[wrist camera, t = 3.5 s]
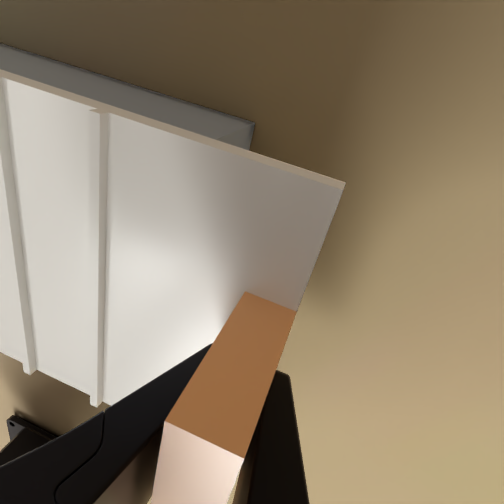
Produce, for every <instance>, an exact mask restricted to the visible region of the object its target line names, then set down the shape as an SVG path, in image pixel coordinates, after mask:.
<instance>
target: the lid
mask: <svg viewBox="0 0 504 504" xmlns="http://www.w3.org/2000/svg"><path fill="white" fill-rule="evenodd" d="M345 184H346V182H343V181H340V180H337V179H334V178H331V177H328V176H325V175H322V174H319V173H316V172H313V171H310V170H307V169H304V168H301V167H298V166H295V165H292V164H288V163H285V162H282V161H279V160H276V159H273V158H270V157H267V156H264V155H261V154H258V153H255V152H252V151H249V150H246V149H243V148H240V147H236V146H233V145H230V144H227V143H224V142H221V141H218V140H215V139H212V138H209V137H206V136H203V135H200V134H197V133H194V132H191V131H188V130H185V129H181V128H178V127H175V126H172V125H169V124H166V123H163V122H160V121H157V120H154V119H151V118H148V117H145V116H142V115H139V114H136V113H133V112H130V111H126V110H123V109H120V108H117V107H114V106H111V105H108V104H105V103H102V102H99V101H96V100H93V99H90V98H87V97H84V96H81V95H78V94H74V93H71V92H68V91H65V90H62V89H59V88H56V87H53V86H50V85H47V84H44V83H41V82H38V81H35V80H32V79H29V78H26V77H23V76H19V75H16V74H13V73H10V72H7V71H4V70H1V69H0V352H1V353H3V354H5V355H7V356H9V357H12V358H14V359H16V360H18V361H20V362H22V363H23V370H24V372H25V373H27V374H29V375H31V374H32V373H33V372H34V371H36V370H38V371H41V372H43V373H45V374H47V375H49V376H51V377H53V378H55V379H57V380H59V381H61V382H63V383H65V384H67V385H70V386H72V387H74V388H76V389H78V390H80V391H82V392H84V393H86V394H88V395H90V405H92V406H95V407H98V406H99V405H100V404H101V402H102V401H103V402H105V403H107V404H109V405H111V406H112V405H113V404H115V403H116V402H118V401H120V400H121V399H123V398H124V397H126V396H128V395H129V394H131V393H132V392H134V391H136V390H137V389H139V388H140V387H142V386H144V385H145V384H147V383H148V382H150V381H152V380H153V379H155V378H156V377H158V376H160V375H161V374H163V373H164V372H166V371H168V370H169V369H171V368H172V367H174V366H176V365H177V364H179V363H180V362H182V361H184V360H185V359H187V358H188V357H190V356H192V355H193V354H195V353H196V352H198V351H200V350H201V349H203V348H204V347H206V346H208V345H209V344H211V343H213V344H212V345H211V347H210V349H209V350H208V352H207V353H206V355H205V357H204V358H203V360H202V362H201V363H200V365H199V366H198V368H197V370H196V371H195V373H194V374H193V376H192V378H191V379H190V381H189V382H188V384H187V386H186V387H185V389H184V391H183V392H182V394H181V395H180V397H179V399H178V400H177V402H176V403H175V405H174V407H173V408H172V410H171V411H170V413H169V415H168V416H167V418H166V420H165V422H164V428H163V434H162V439H161V445H160V451H159V457H158V463H157V469H156V475H155V480H154V486H153V492H152V498H151V504H227V501H228V499H229V496H230V494H231V491H232V489H233V486H234V484H235V481H236V479H237V476H238V473H239V471H240V468H241V466H242V463H243V461H244V458H245V455H246V453H247V450H248V447H249V444H250V441H251V439H252V436H253V433H254V430H255V427H256V425H257V422H258V419H259V416H260V413H261V411H262V408H263V405H264V402H265V399H266V397H267V394H268V391H269V388H270V385H271V383H272V380H273V377H274V374H275V371H276V368H277V366H278V363H279V360H280V357H281V354H282V352H283V349H284V346H285V343H286V340H287V338H288V335H289V332H290V329H291V326H292V324H293V321H294V318H295V315H296V312H297V310H298V307H299V305H300V302H301V299H302V297H303V294H304V292H305V289H306V286H307V284H308V281H309V279H310V276H311V273H312V271H313V268H314V266H315V263H316V260H317V258H318V255H319V253H320V250H321V247H322V245H323V242H324V240H325V237H326V234H327V232H328V229H329V227H330V224H331V221H332V219H333V216H334V214H335V211H336V208H337V206H338V203H339V200H340V198H341V195H342V193H343V190H344V187H345Z"/></svg>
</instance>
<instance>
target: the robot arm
mask: <svg viewBox="0 0 504 504" xmlns="http://www.w3.org/2000/svg"><path fill="white" fill-rule="evenodd" d="M212 344H213V343H211V344H209V345H208V346H206V347H204V348H203V349H201V350H200V351H198V352H196V353H195V354H193V355H192V356H190V357H188V358H187V359H185V360H184V361H182V362H180V363H179V364H177V365H176V366H174V367H172V368H171V369H169V370H168V371H166V372H164V373H163V374H161V375H160V376H158V377H156V378H155V379H153V380H152V381H150V382H148V383H147V384H145V385H144V386H142V387H140V388H139V389H137V390H136V391H134V392H132V393H131V394H129V395H128V396H126V397H124V398H123V399H121V400H120V401H118V402H116V403H115V404H113V405H112V406H110V407H108V408H107V409H105V413H104V412H103V411H102V412H100V413H99V414H97V415H95V416H94V417H92V418H91V419H89V420H87V421H86V422H84V423H82V424H81V425H79V426H77V427H76V428H74V429H72V430H70V431H69V432H67V433H65V434H63V435H61V436H60V437H56V436H54V435H52V434H50V433H48V432H46V431H44V430H42V429H40V428H38V427H36V426H34V425H32V424H30V423H28V422H26V421H25V420H23V419H21V418H19V417H17V416H14V415H12V416H11V417H10V418H9V419H7V426H8V431H9V436H10V442H9V443H8V444H7V445H6V446H5V447H4V448H3V449H2V450H1V451H0V504H147V502H148V501H149V499H150V498H151V496H152V492H153V486H154V480H155V475H156V469H157V463H158V457H159V451H160V445H161V439H162V434H163V428H164V422H165V420H166V418H167V416H168V415H169V413H170V411H171V410H172V408H173V407H174V405H175V403H176V402H177V400H178V399H179V397H180V395H181V394H182V392H183V391H184V389H185V387H186V386H187V384H188V382H189V381H190V379H191V378H192V376H193V374H194V373H195V371H196V370H197V368H198V366H199V365H200V363H201V362H202V360H203V358H204V357H205V355H206V353H207V352H208V350H209V349H210V347H211V345H212ZM233 504H309V498H308V492H307V485H306V479H305V472H304V466H303V459H302V453H301V446H300V440H299V433H298V427H297V420H296V414H295V407H294V401H293V394H292V388H291V381H290V377H289V375H287V374H285V373H283V372H280V371H278V370H276V371H275V374H274V377H273V380H272V383H271V385H270V388H269V391H268V394H267V397H266V399H265V402H264V405H263V408H262V411H261V413H260V416H259V419H258V422H257V425H256V427H255V430H254V433H253V436H252V439H251V441H250V444H249V447H248V450H247V453H246V455H245V458H244V461H243V463H242V466H241V470H240V474H239V478H238V483H237V487H236V491H235V495H234V499H233Z"/></svg>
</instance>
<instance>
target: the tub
mask: <svg viewBox="0 0 504 504" xmlns="http://www.w3.org/2000/svg"><path fill="white" fill-rule="evenodd" d="M0 69H1V70H4V71H7V72H10V73H13V74H16V75H19V76H23V77H26V78H29V79H32V80H35V81H38V82H41V83H44V84H47V85H50V86H53V87H56V88H59V89H62V90H65V91H68V92H71V93H74V94H78V95H81V96H84V97H87V98H90V99H93V100H96V101H99V102H102V103H105V104H108V105H111V106H114V107H117V108H120V109H123V110H126V111H130V112H133V113H136V114H139V115H142V116H145V117H148V118H151V119H154V120H157V121H160V122H163V123H166V124H169V125H172V126H175V127H178V128H181V129H185V130H188V131H191V132H194V133H197V134H200V135H203V136H206V137H209V138H212V139H215V140H218V141H221V142H224V143H227V144H230V145H233V146H236V147H240V148H243V149H246V150H249V148H250V144H251V140H252V135H253V131H254V126H255V123H254V122H251V121H248V120H245V119H241V118H238V117H235V116H232V115H229V114H225V113H222V112H219V111H216V110H213V109H209V108H206V107H203V106H200V105H197V104H193V103H190V102H187V101H184V100H181V99H177V98H174V97H171V96H168V95H165V94H161V93H158V92H155V91H152V90H149V89H145V88H142V87H139V86H136V85H133V84H129V83H126V82H123V81H120V80H117V79H113V78H110V77H107V76H104V75H101V74H97V73H94V72H91V71H88V70H85V69H81V68H78V67H75V66H72V65H69V64H65V63H62V62H59V61H56V60H53V59H49V58H46V57H43V56H40V55H37V54H34V53H30V52H27V51H24V50H21V49H18V48H14V47H11V46H8V45H5V44H2V43H0Z"/></svg>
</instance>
